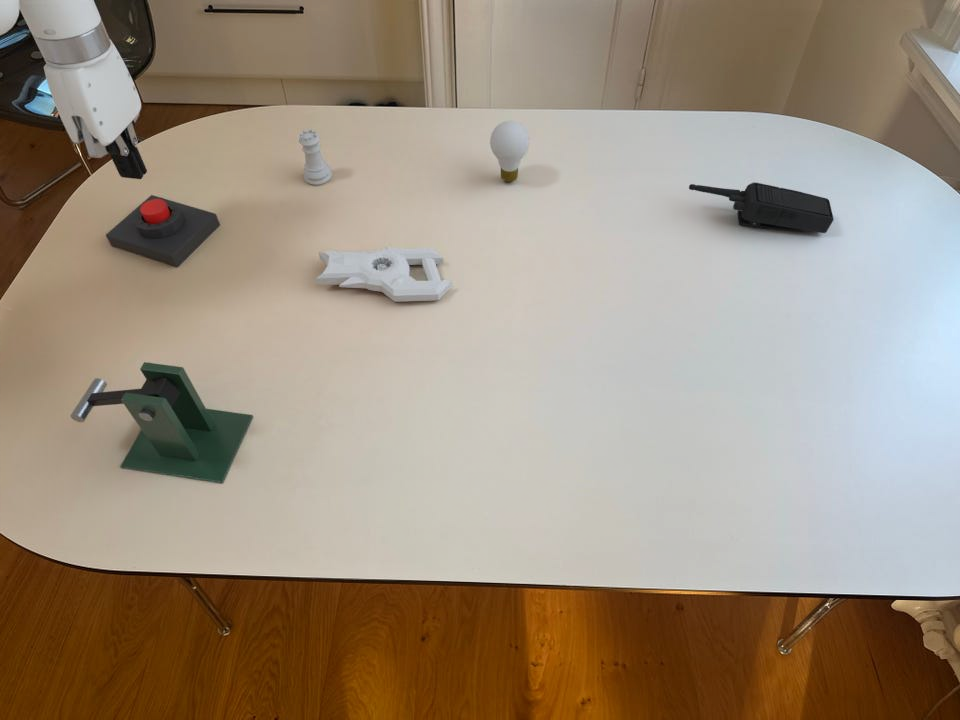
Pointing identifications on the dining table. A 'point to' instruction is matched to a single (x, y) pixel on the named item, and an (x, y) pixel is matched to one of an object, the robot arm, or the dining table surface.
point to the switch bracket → (182, 431)
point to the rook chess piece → (314, 159)
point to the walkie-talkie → (776, 207)
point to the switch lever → (100, 398)
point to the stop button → (155, 211)
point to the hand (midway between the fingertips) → (134, 174)
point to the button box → (164, 233)
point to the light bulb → (509, 147)
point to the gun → (386, 272)
